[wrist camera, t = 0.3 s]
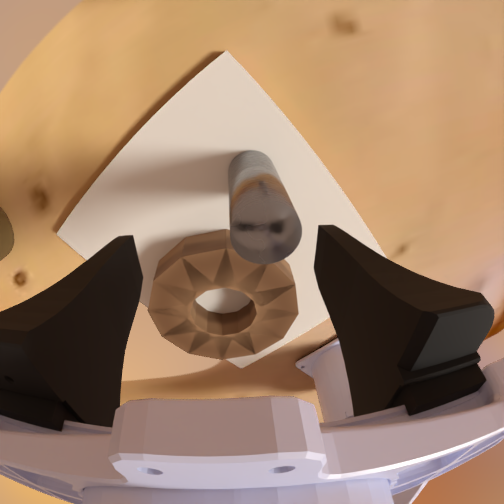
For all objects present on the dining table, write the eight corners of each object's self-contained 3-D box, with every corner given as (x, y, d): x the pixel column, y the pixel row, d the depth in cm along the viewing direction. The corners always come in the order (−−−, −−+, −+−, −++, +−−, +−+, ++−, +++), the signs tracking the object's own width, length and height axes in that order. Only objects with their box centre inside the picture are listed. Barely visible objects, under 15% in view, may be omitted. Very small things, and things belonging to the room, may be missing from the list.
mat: (392, 267, 26) (395, 272, 25) (240, 362, 31) (241, 368, 31) (226, 51, 16) (226, 50, 15) (60, 229, 21) (56, 234, 20)
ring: (316, 292, 26) (324, 313, 23) (221, 352, 29) (221, 373, 27) (227, 201, 20) (227, 218, 18) (128, 287, 24) (121, 308, 22)
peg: (283, 174, 20) (315, 236, 13) (248, 202, 21) (261, 275, 14) (254, 140, 18) (272, 186, 12) (218, 170, 19) (214, 232, 13)
